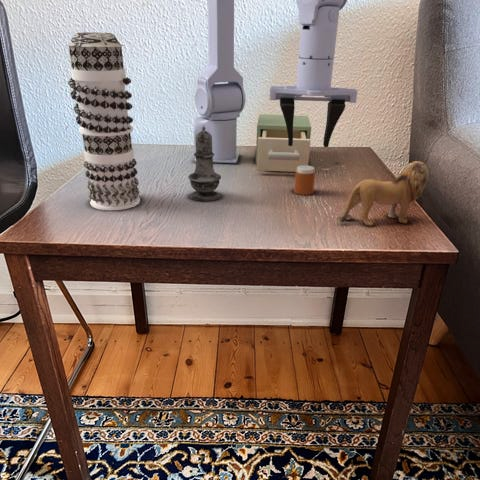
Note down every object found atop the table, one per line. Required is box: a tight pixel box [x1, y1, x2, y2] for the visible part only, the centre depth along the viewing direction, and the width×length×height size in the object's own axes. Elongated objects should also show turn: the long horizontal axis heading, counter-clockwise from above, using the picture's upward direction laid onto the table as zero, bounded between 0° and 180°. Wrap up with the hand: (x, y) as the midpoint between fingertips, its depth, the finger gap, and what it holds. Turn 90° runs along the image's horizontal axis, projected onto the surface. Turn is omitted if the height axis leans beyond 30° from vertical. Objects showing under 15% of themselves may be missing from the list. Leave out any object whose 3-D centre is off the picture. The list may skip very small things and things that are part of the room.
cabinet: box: [255, 113, 312, 165], centre depth 108 cm, size 14×12×8 cm
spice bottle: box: [293, 165, 316, 196], centre depth 87 cm, size 4×4×4 cm
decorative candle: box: [66, 31, 141, 211], centre depth 74 cm, size 9×9×25 cm
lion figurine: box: [339, 160, 430, 227], centre depth 73 cm, size 15×5×9 cm, turn 110°
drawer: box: [256, 129, 312, 173], centre depth 98 cm, size 17×10×6 cm, turn 176°
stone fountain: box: [187, 126, 222, 202], centre depth 81 cm, size 6×6×12 cm
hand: (307, 145), depth 83 cm, fingers open, 6 cm apart
